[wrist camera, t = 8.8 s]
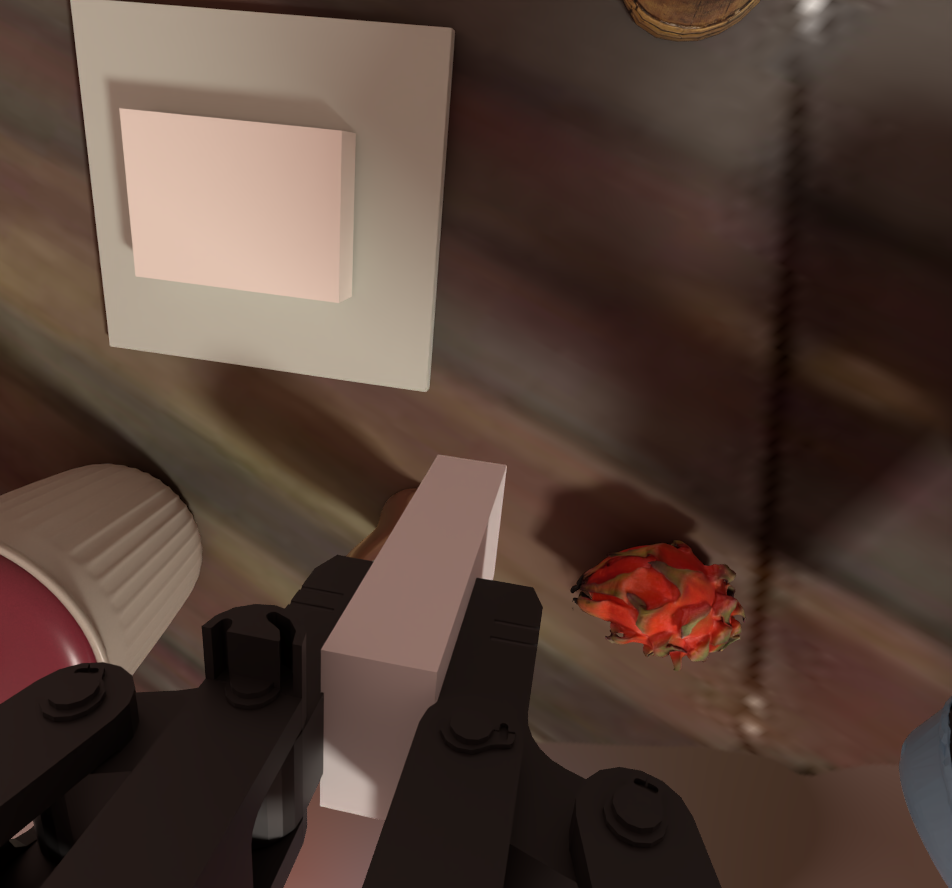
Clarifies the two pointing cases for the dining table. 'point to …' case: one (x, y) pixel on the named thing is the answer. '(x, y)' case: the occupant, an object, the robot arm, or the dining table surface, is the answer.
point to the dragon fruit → (663, 601)
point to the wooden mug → (688, 17)
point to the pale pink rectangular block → (241, 204)
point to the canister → (90, 570)
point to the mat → (287, 103)
